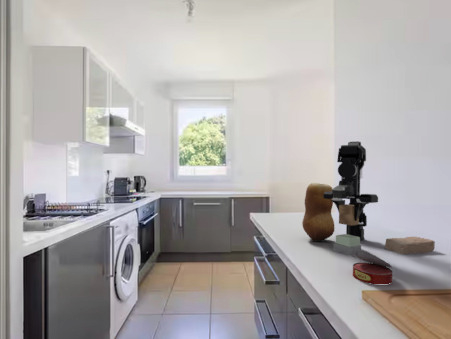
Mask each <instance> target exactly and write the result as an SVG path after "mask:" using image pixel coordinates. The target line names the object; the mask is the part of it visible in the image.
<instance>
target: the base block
mask: <svg viewBox="0 0 451 339" xmlns="http://www.w3.org/2000/svg"><path fill="white" fill-rule="evenodd" d="M355 249H362V244H360V245H359V246H353V247H348V246H344V245H340V244H336V242H333V251H334V252H338V253H340V254H341V253H342V254H345V255H348V256H354V255H353V251H354V250H355Z"/></svg>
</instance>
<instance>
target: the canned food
mask: <svg viewBox="0 0 451 339" xmlns="http://www.w3.org/2000/svg"><path fill="white" fill-rule="evenodd" d="M352 256H354V257H355V258H357V259H359V260H362V261H364V262H355V263H353V264H352V277H353V278H354V279H355V280H357V281H360V282H361V283H362V282H363V283H365V284H369V283H371V284H370V285H374V284H389V283H392V284H393V270H392V269H391V268H392V267H393V266H392V265H391V264H390V263H389V262H386V261H385V260H383V259H381V258H380V257H378V256H376V255H375V254H373V253H371V252H370V251H367V250H365V249H362V248H361V249H355V250H354V251H353V255H352ZM389 285H390V284H389Z"/></svg>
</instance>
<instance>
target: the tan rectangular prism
mask: <svg viewBox="0 0 451 339" xmlns="http://www.w3.org/2000/svg"><path fill="white" fill-rule="evenodd" d="M348 204H349V203H345V204H344V205H339V212H338V224H339V225H344V224H345V226H346V225H351V226H353V225H358V224H359V218H358V220H357V221H355V219H354V213H355V206H354V205H348Z"/></svg>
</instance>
